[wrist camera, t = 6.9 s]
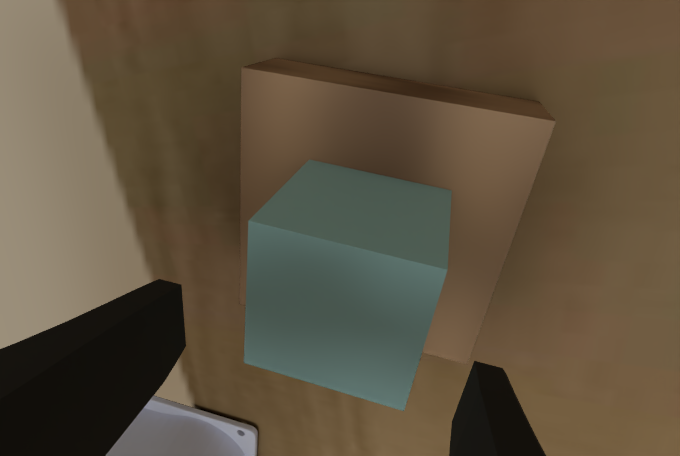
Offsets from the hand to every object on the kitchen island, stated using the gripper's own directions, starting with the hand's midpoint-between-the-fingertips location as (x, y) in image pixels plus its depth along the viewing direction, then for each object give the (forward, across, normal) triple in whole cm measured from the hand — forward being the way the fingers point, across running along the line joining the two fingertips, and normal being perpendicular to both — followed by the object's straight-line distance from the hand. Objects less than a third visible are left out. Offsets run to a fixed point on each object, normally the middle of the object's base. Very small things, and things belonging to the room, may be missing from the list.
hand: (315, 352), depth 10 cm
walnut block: (+10, 0, 0) cm, 10 cm away
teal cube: (+6, 0, 0) cm, 6 cm away
